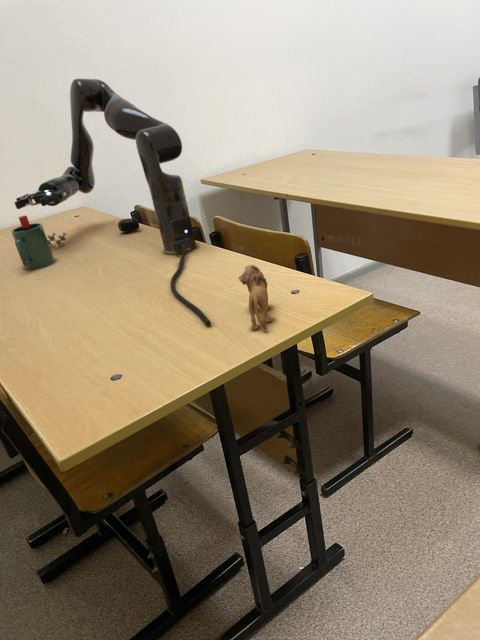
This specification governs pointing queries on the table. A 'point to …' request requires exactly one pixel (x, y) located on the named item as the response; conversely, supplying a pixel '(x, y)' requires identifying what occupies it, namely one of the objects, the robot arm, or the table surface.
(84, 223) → the table surface
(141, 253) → the table surface
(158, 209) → the robot arm
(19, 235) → the mug
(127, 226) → the tape measure
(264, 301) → the brown animal figure
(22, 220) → the marker
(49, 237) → the molecular model
